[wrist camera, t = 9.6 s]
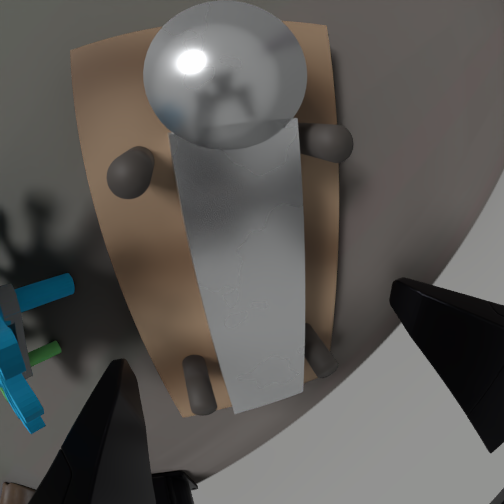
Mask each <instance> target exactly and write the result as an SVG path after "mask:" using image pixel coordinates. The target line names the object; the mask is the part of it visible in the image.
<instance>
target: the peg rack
mask: <svg viewBox="0 0 504 504" xmlns="http://www.w3.org/2000/svg"><path fill="white" fill-rule="evenodd" d="M282 22H283V23H284V24H285V25H286V26H287V27H288V28H289V29H290V31H291V32H292V33H293V34H294V36H295V37H296V39H297V41H298V42H299V44H300V46H301V49H302V51H303V54H304V57H305V61H306V67H307V86H306V91H305V95H304V98H303V101H302V104H301V106H300V108H299V109H298V111H297V113H296V114H295V116H294V117H293V118H298V130H299V143H300V157H301V173H302V191H303V213H304V243H305V353H304V382H303V383H306V382H308V381H311V380H314V379H316V378H324V377H327V376H329V375H331V374H332V373H333V372H334V371H335V370H336V369H337V367H338V362H337V360H336V359H335V358H334V356H333V355H332V354H331V352H330V347H331V338H332V329H333V319H334V307H335V295H336V280H337V262H338V237H339V163H341V162H343V161H345V160H346V159H348V157H349V156H350V155H351V153H352V150H353V138H352V135H351V133H350V132H349V131H348V129H347V128H345V127H343V126H341V125H337V117H336V103H335V91H334V80H333V71H332V62H331V54H330V46H329V39H328V32H327V26H325V25H318V24H310V23H300V22H289V21H282ZM161 28H162V27H158V28H152V29H147V30H141V31H137V32H132V33H128V34H123V35H119V36H115V37H112V38H108V39H104V40H101V41H97V42H94V43H91V44H88V45H85V46H82V47H79V48H76V49H73V50H70V58H71V74H72V86H73V96H74V105H75V113H76V120H77V127H78V133H79V139H80V144H81V150H82V155H83V160H84V165H85V170H86V174H87V179H88V183H89V187H90V191H91V195H92V199H93V203H94V207H95V211H96V214H97V218H98V221H99V225H100V228H101V232H102V235H103V238H104V241H105V244H106V248H107V251H108V254H109V257H110V260H111V263H112V265H113V268H114V271H115V274H116V277H117V279H118V282H119V285H120V287H121V290H122V293H123V295H124V298H125V300H126V303H127V305H128V308H129V310H130V313H131V315H132V317H133V320H134V322H135V324H136V327H137V329H138V331H139V333H140V336H141V338H142V340H143V342H144V344H145V347H146V349H147V351H148V353H149V355H150V357H151V359H152V361H153V363H154V365H155V367H156V369H157V371H158V373H159V375H160V377H161V379H162V381H163V383H164V385H165V387H166V388H167V390H168V392H169V394H170V396H171V398H172V399H173V401H174V403H175V405H176V406H177V408H178V410H179V412H180V413H181V415H182V417H183V418H184V417H189V416H193V415H209V414H211V413H213V412H215V411H216V410H219V409H223V408H227V407H231V406H232V404H231V401H230V398H229V395H228V392H227V389H226V386H225V383H224V380H223V377H222V373H221V370H220V367H219V363H218V360H217V357H216V353H215V350H214V346H213V342H212V339H211V335H210V331H209V328H208V324H207V320H206V316H205V313H204V309H203V305H202V301H201V297H200V293H199V289H198V285H197V281H196V276H195V272H194V268H193V264H192V259H191V255H190V250H189V246H188V241H187V237H186V232H185V227H184V223H183V218H182V213H181V208H180V203H179V198H178V192H177V187H176V182H175V176H174V170H173V165H172V159H171V153H170V147H169V140H168V134H167V133H169V132H171V131H169V130H168V129H167V128H166V127H165V126H164V125H163V124H162V123H161V122H160V120H159V119H158V118H157V116H156V115H155V113H154V111H153V109H152V107H151V105H150V104H149V101H148V98H147V96H146V93H145V87H144V81H143V69H144V61H145V58H146V54H147V51H148V49H149V46H150V44H151V42H152V40H153V39H154V37H155V36H156V34H157V33H158V32H159V30H160V29H161Z"/></svg>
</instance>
